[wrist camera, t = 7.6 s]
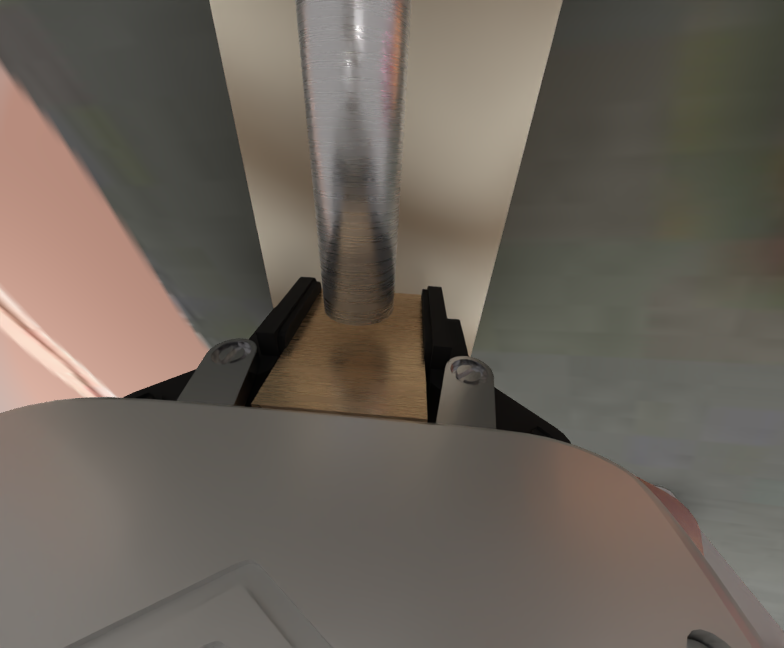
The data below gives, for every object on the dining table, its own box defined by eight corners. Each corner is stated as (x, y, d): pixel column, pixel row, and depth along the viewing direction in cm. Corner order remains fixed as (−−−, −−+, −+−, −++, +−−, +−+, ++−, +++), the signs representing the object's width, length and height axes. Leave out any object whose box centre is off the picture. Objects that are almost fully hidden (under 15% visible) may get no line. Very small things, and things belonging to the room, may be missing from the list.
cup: (653, 529, 26) (799, 768, 16) (565, 521, 27) (656, 752, 17) (708, 483, 22) (954, 773, 12) (602, 475, 22) (756, 750, 12)
